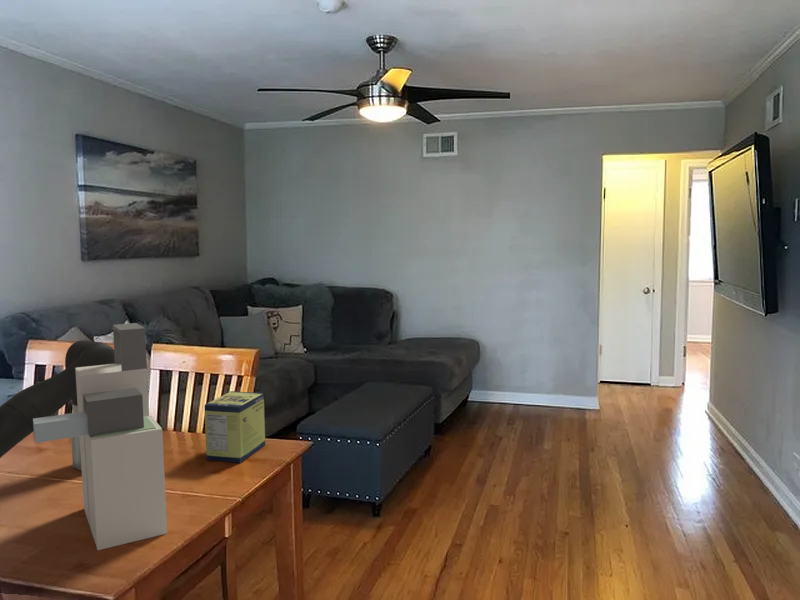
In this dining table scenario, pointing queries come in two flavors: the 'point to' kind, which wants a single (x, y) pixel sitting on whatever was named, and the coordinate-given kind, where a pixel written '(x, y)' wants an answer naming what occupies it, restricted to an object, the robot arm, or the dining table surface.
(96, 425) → the plug
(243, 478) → the dining table surface
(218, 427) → the protein box
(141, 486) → the grey stepped fixture
